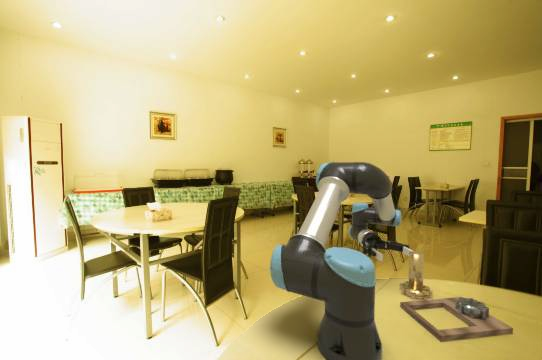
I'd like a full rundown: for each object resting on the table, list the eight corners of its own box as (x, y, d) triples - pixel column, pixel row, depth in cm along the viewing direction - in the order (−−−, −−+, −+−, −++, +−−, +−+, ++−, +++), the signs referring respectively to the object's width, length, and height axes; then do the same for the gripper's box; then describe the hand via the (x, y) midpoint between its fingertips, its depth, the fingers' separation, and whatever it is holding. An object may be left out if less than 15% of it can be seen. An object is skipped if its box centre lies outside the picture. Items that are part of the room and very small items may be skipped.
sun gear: (471, 321, 70) (472, 312, 70) (449, 306, 78) (449, 298, 78) (495, 318, 71) (496, 310, 71) (471, 303, 79) (471, 296, 79)
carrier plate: (440, 341, 65) (440, 335, 64) (400, 306, 80) (400, 302, 80) (512, 333, 67) (512, 328, 67) (459, 301, 83) (460, 296, 83)
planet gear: (412, 301, 83) (413, 259, 82) (393, 287, 93) (394, 249, 92) (439, 299, 85) (440, 257, 84) (418, 285, 94) (419, 248, 93)
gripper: (394, 246, 121) (427, 264, 100) (343, 249, 117) (367, 268, 97) (394, 230, 120) (428, 245, 99) (344, 233, 117) (367, 248, 96)
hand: (398, 256), depth 98 cm, fingers open, 13 cm apart
